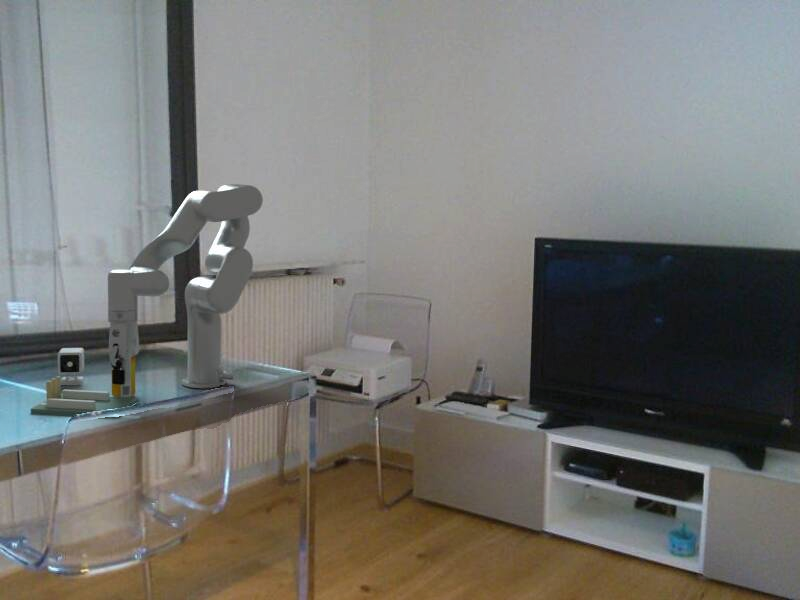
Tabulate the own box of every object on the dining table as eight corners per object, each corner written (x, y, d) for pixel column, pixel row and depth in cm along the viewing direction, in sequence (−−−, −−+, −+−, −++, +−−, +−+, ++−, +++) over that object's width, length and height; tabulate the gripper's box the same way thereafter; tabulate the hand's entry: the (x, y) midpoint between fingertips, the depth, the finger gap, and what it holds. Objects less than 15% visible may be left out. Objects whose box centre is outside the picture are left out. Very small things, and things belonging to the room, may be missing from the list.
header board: (138, 402, 209) (138, 376, 208) (117, 418, 195) (117, 390, 194) (57, 398, 210) (56, 372, 209) (30, 413, 196) (30, 385, 195)
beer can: (130, 392, 218) (130, 339, 216) (138, 397, 214) (138, 343, 211) (108, 395, 214) (107, 341, 212) (116, 400, 210) (116, 346, 208)
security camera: (58, 387, 220) (57, 352, 219) (61, 381, 227) (60, 347, 226) (82, 386, 222) (81, 352, 221) (84, 380, 229) (84, 347, 227)
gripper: (124, 322, 202) (124, 389, 205) (148, 311, 219) (148, 374, 222) (95, 320, 202) (96, 388, 205) (121, 310, 219) (122, 372, 222)
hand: (123, 380), depth 213 cm, fingers closed on beer can, 6 cm apart
